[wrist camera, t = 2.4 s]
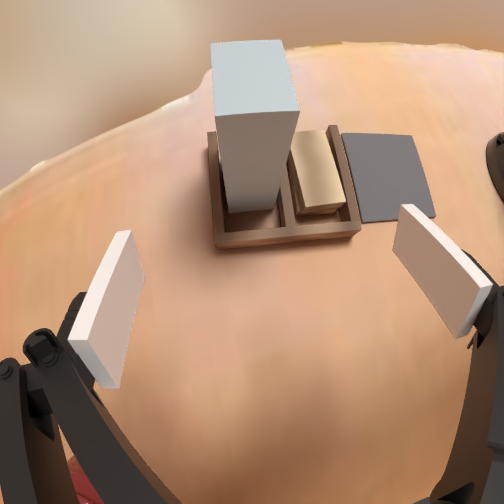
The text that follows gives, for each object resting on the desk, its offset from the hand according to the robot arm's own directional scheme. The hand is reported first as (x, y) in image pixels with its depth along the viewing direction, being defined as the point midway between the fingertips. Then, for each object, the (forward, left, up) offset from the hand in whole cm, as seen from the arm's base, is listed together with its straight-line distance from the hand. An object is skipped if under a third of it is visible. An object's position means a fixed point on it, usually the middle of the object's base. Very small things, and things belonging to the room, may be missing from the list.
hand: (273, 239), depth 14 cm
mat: (-18, -11, -19) cm, 28 cm away
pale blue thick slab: (0, -11, -19) cm, 22 cm away
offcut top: (-7, -11, -17) cm, 22 cm away
